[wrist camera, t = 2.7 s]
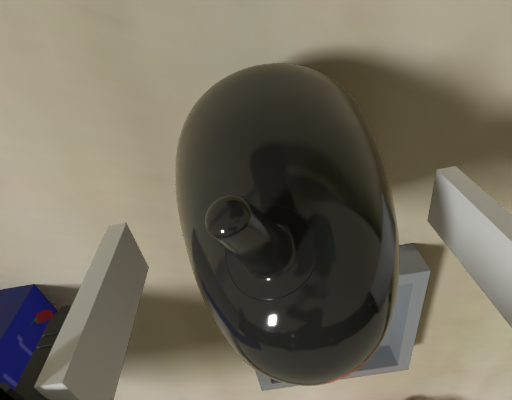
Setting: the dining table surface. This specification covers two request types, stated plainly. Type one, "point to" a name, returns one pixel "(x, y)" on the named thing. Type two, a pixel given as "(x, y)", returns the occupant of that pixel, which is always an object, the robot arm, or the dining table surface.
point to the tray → (402, 323)
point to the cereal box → (21, 328)
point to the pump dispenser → (289, 222)
